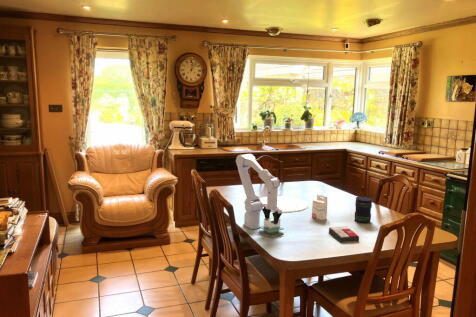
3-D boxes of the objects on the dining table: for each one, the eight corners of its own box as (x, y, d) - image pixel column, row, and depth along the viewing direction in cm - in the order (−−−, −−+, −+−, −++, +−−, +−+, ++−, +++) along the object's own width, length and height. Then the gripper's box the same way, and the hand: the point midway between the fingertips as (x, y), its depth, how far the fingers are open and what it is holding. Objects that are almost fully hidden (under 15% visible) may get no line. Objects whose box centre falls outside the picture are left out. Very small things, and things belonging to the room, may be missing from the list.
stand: (259, 232, 222) (259, 226, 222) (272, 229, 228) (272, 223, 227) (269, 237, 214) (270, 231, 214) (283, 234, 220) (283, 228, 219)
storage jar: (369, 219, 249) (371, 197, 246) (371, 224, 239) (373, 201, 237) (353, 218, 251) (355, 196, 248) (354, 223, 241) (356, 199, 239)
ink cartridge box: (311, 217, 251) (312, 195, 249) (315, 215, 255) (316, 194, 252) (322, 220, 245) (323, 198, 243) (326, 218, 249) (328, 196, 246)
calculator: (341, 236, 208) (328, 226, 223) (340, 244, 209) (328, 233, 223) (359, 235, 211) (346, 225, 225) (358, 242, 211) (345, 232, 226)
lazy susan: (246, 209, 268) (246, 204, 267) (259, 195, 305) (259, 191, 304) (303, 215, 256) (304, 210, 256) (310, 200, 293) (311, 196, 293)
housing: (262, 227, 220) (262, 219, 219) (275, 224, 226) (276, 216, 225) (267, 230, 216) (268, 221, 215) (281, 227, 221) (281, 218, 221)
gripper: (258, 197, 222) (258, 219, 224) (274, 203, 210) (274, 227, 212) (268, 195, 225) (267, 217, 228) (284, 201, 214) (283, 225, 216)
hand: (271, 222), depth 220 cm, fingers open, 7 cm apart
